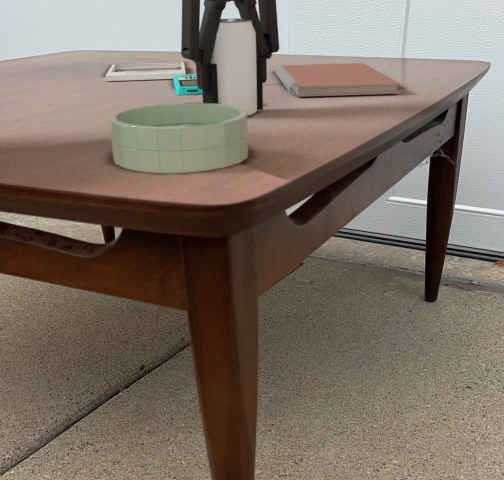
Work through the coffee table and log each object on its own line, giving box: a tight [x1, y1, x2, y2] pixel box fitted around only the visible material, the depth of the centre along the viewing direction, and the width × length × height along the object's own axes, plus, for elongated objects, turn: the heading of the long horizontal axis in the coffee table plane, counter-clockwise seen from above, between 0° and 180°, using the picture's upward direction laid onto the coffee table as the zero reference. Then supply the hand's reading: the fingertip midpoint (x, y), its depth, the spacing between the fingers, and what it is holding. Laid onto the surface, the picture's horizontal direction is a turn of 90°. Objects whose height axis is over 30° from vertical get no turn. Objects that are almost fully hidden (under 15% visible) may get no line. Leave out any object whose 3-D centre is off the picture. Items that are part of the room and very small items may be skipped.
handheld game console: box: [172, 73, 203, 96], centre depth 118 cm, size 10×16×1 cm, turn 8°
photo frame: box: [105, 61, 187, 82], centre depth 134 cm, size 15×1×18 cm
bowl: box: [108, 102, 249, 174], centre depth 69 cm, size 13×13×5 cm
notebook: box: [274, 62, 401, 98], centre depth 118 cm, size 27×17×2 cm, turn 4°
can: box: [210, 18, 258, 118], centre depth 92 cm, size 6×6×12 cm
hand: (233, 110), depth 94 cm, fingers closed on can, 6 cm apart
